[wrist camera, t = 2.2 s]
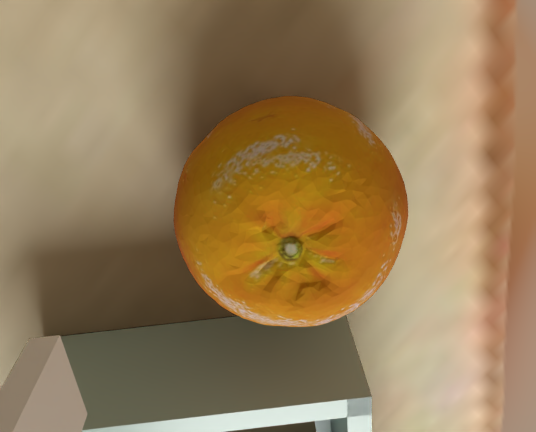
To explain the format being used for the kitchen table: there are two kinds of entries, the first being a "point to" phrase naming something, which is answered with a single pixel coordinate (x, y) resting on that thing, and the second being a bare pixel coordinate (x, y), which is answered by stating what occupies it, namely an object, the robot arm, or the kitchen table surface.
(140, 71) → the kitchen table surface
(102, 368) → the tote
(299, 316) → the fruit
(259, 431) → the walnut block
